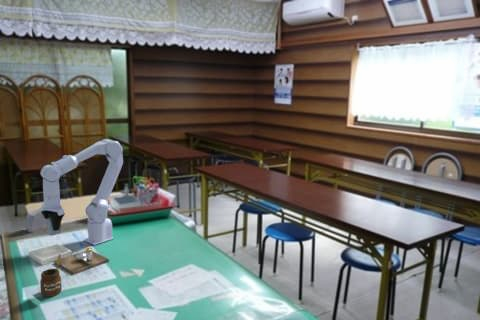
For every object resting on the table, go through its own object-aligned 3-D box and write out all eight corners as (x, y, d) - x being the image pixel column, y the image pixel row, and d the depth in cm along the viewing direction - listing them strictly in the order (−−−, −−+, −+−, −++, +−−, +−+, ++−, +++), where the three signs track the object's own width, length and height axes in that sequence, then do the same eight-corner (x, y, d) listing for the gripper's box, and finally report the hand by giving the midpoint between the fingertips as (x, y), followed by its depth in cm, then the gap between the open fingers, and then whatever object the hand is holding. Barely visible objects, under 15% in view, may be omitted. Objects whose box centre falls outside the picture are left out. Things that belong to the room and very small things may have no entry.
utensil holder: (38, 292, 118) (35, 256, 116) (59, 285, 123) (56, 251, 121) (44, 299, 114) (41, 263, 112) (65, 292, 118) (63, 257, 116)
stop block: (56, 230, 151) (55, 216, 150) (61, 233, 148) (60, 218, 147) (46, 233, 148) (45, 218, 147) (51, 235, 145) (50, 221, 144)
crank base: (89, 251, 149) (88, 249, 149) (109, 261, 141) (108, 258, 141) (54, 263, 139) (54, 260, 138) (73, 274, 130) (73, 271, 130)
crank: (74, 259, 139) (73, 245, 138) (83, 256, 142) (82, 242, 141) (86, 266, 134) (85, 251, 133) (95, 262, 137) (94, 248, 136)
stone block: (34, 235, 165) (32, 213, 164) (25, 234, 166) (23, 212, 164) (52, 226, 177) (51, 206, 175) (43, 225, 178) (42, 205, 176)
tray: (57, 248, 152) (57, 243, 152) (71, 255, 145) (71, 250, 145) (29, 256, 143) (28, 252, 143) (42, 265, 137) (42, 260, 136)
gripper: (32, 194, 147) (35, 226, 149) (50, 201, 138) (52, 235, 140) (51, 191, 152) (52, 222, 154) (68, 197, 143) (70, 231, 146)
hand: (53, 228), depth 148 cm, fingers closed on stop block, 4 cm apart
